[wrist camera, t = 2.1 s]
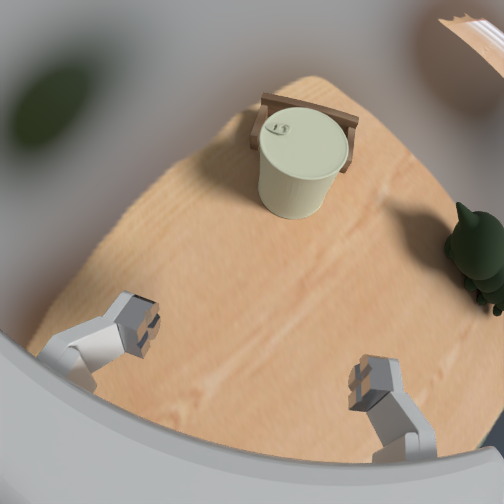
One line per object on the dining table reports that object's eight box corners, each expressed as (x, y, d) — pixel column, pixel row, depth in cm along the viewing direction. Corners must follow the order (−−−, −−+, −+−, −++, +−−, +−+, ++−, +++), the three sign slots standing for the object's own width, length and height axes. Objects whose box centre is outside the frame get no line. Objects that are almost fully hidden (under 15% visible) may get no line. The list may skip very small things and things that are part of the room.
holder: (344, 173, 37) (355, 155, 32) (250, 148, 38) (249, 128, 33) (349, 136, 38) (358, 117, 34) (262, 113, 39) (263, 92, 34)
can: (272, 150, 38) (278, 93, 26) (332, 173, 37) (358, 123, 25) (247, 203, 36) (242, 156, 24) (312, 230, 35) (337, 193, 24)
